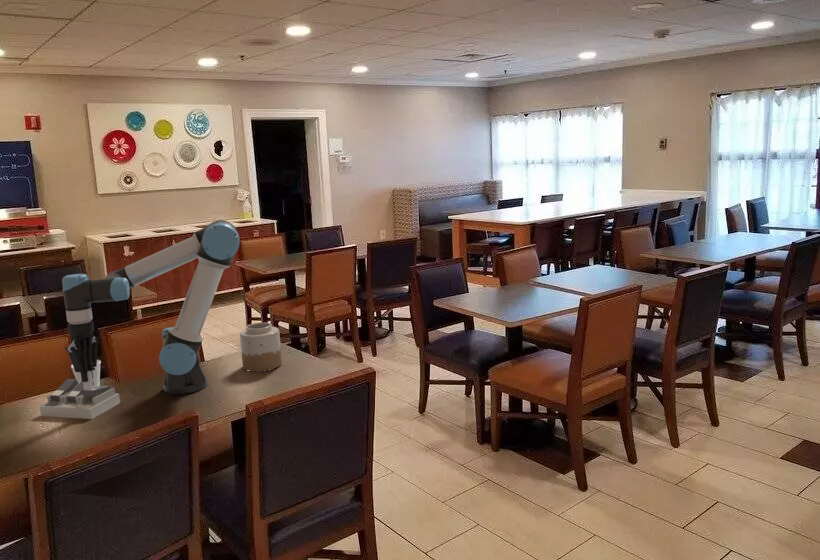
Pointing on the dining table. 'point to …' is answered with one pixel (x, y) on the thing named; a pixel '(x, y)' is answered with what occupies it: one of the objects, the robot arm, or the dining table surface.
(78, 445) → the dining table surface
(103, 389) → the rocker
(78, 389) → the rocker
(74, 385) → the rocker
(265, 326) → the vase
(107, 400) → the switch unit
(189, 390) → the robot arm
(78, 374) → the cup
